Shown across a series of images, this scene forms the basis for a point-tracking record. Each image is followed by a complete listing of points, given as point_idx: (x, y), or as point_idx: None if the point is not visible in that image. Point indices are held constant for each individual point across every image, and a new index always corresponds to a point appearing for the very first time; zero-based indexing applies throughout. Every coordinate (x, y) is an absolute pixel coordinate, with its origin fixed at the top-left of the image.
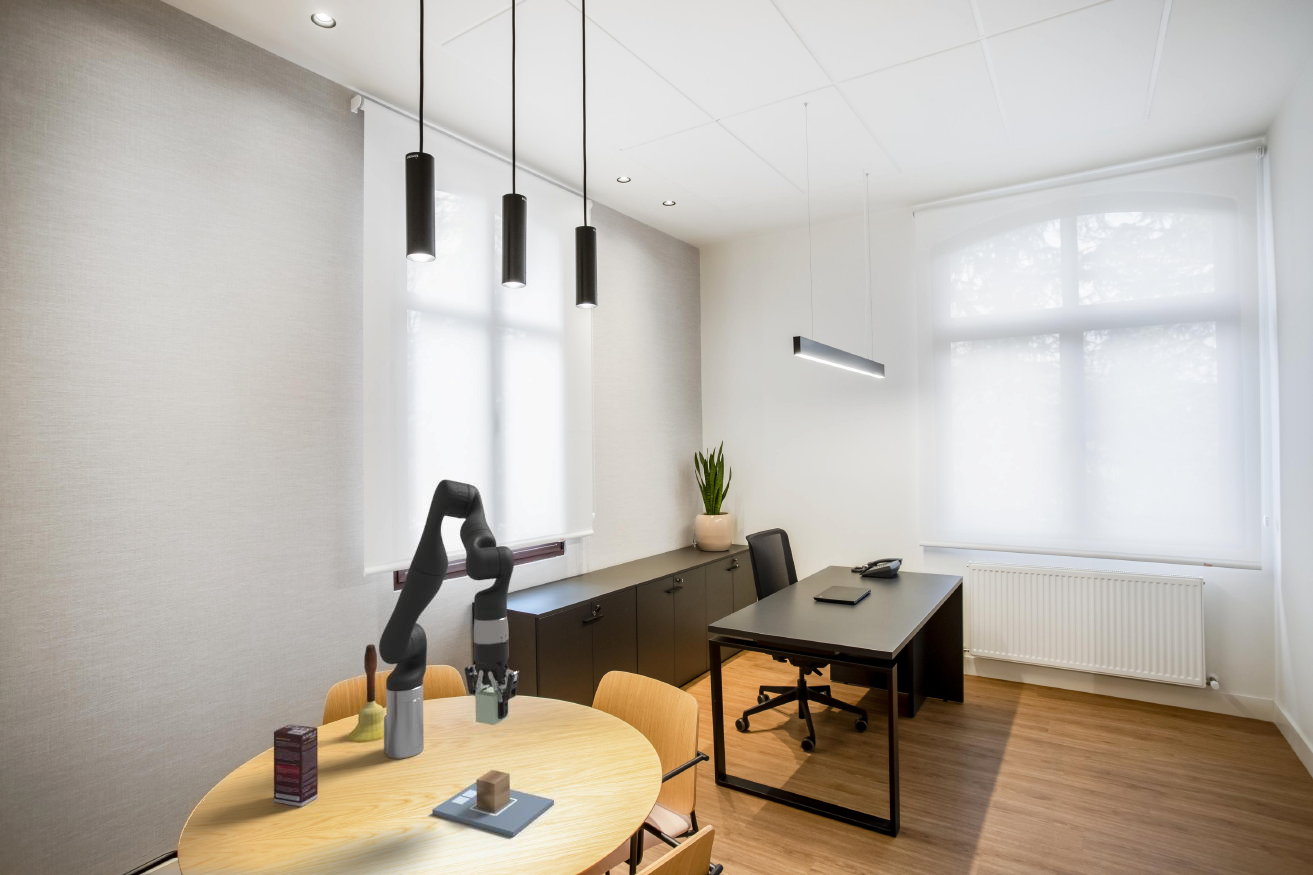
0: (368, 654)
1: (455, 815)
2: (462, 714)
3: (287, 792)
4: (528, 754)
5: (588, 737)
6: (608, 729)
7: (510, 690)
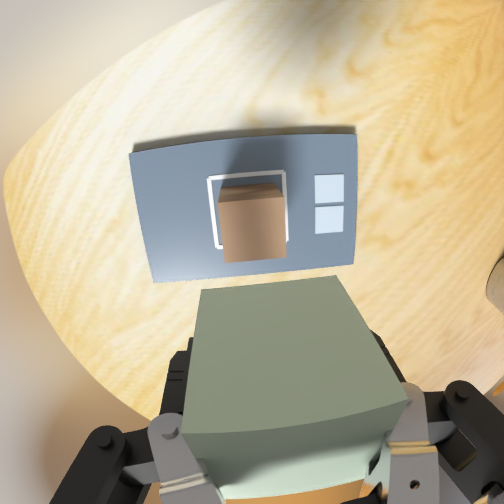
0: None
1: (292, 136)
2: (472, 377)
3: None
4: None
5: None
6: None
7: (63, 481)
